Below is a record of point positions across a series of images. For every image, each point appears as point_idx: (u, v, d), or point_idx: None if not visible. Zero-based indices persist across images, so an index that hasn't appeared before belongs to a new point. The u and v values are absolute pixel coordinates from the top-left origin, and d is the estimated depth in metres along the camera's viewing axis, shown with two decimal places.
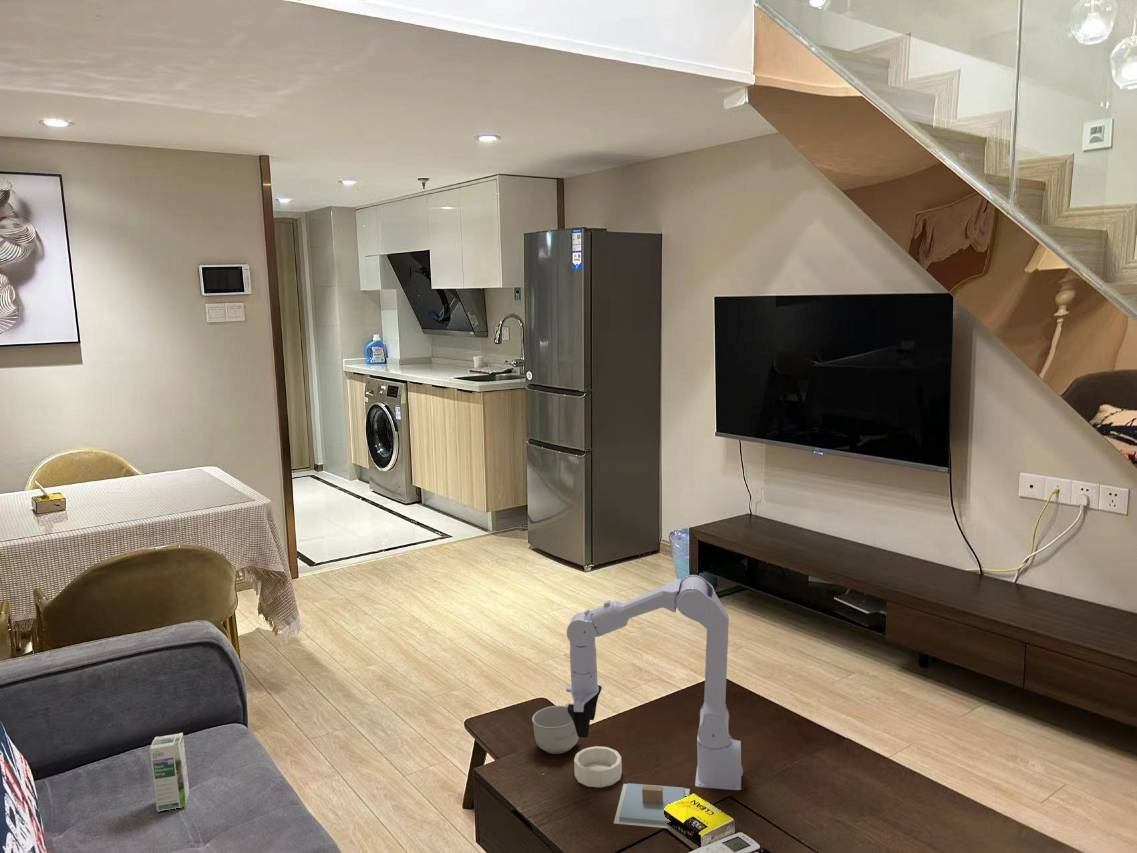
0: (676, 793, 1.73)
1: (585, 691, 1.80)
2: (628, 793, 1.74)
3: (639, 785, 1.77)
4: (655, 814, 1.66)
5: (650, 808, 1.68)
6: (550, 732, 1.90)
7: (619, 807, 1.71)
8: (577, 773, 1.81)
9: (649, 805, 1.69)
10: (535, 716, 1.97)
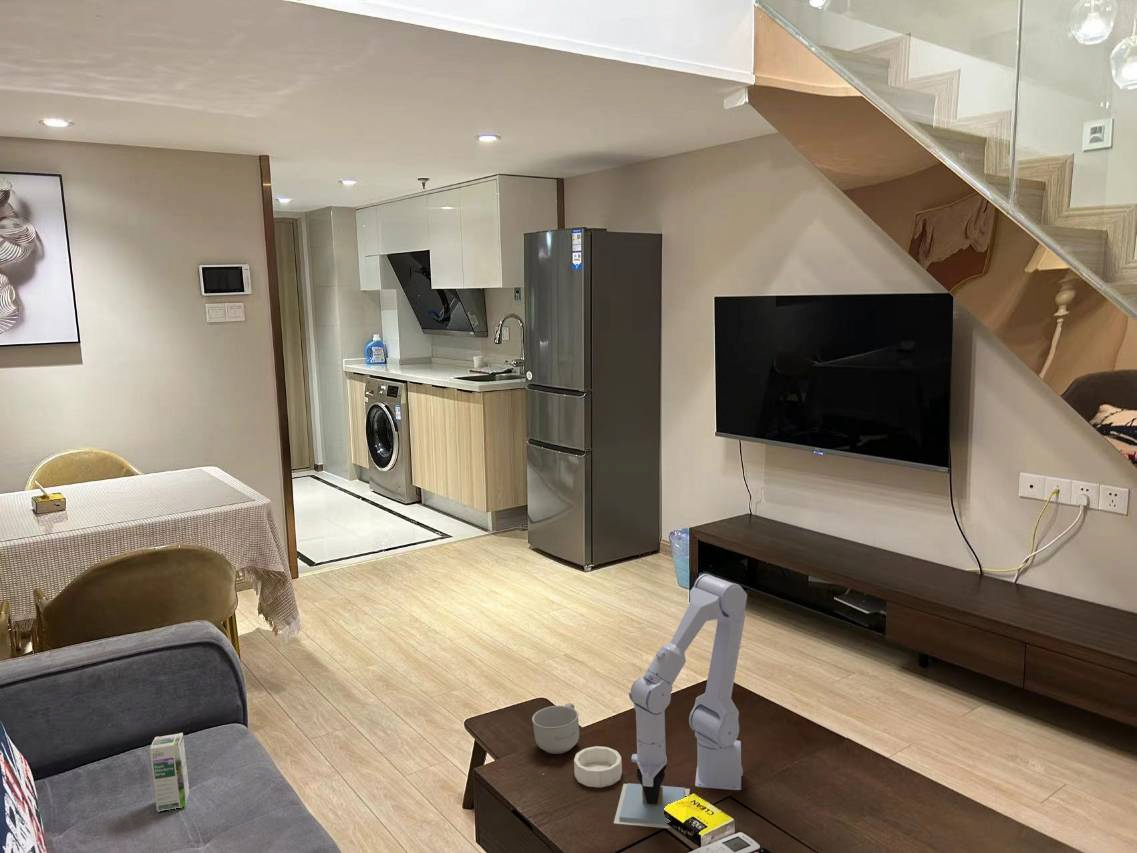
0: (676, 793, 1.73)
1: (653, 762, 1.66)
2: (628, 793, 1.74)
3: (639, 785, 1.77)
4: (655, 814, 1.66)
5: (650, 808, 1.68)
6: (550, 732, 1.90)
7: (619, 807, 1.71)
8: (577, 773, 1.81)
9: (649, 805, 1.69)
10: (535, 716, 1.97)
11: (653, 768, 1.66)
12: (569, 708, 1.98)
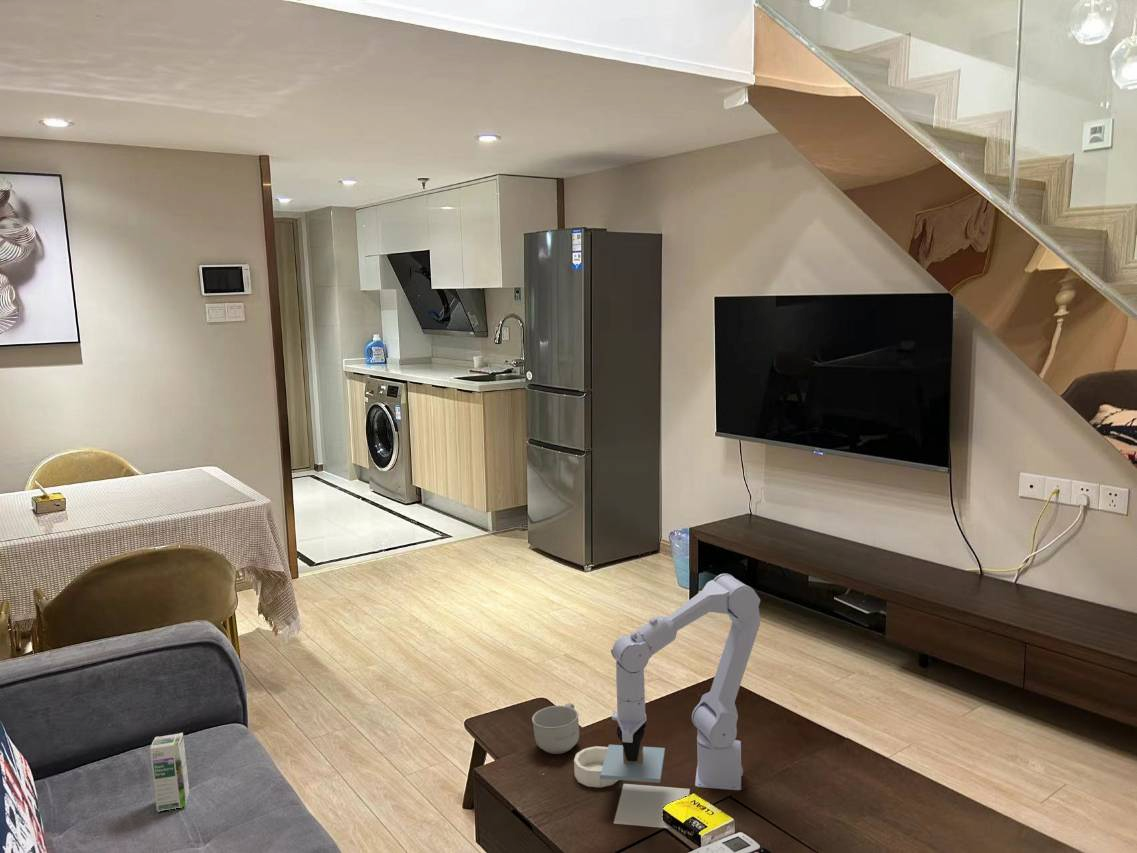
0: (656, 753, 1.76)
1: (633, 719, 1.69)
2: (609, 753, 1.77)
3: (620, 746, 1.80)
4: (635, 772, 1.69)
5: (630, 767, 1.71)
6: (550, 732, 1.90)
7: (619, 807, 1.71)
8: (577, 773, 1.81)
9: (630, 764, 1.72)
10: (535, 716, 1.97)
11: (633, 725, 1.69)
12: (569, 708, 1.98)
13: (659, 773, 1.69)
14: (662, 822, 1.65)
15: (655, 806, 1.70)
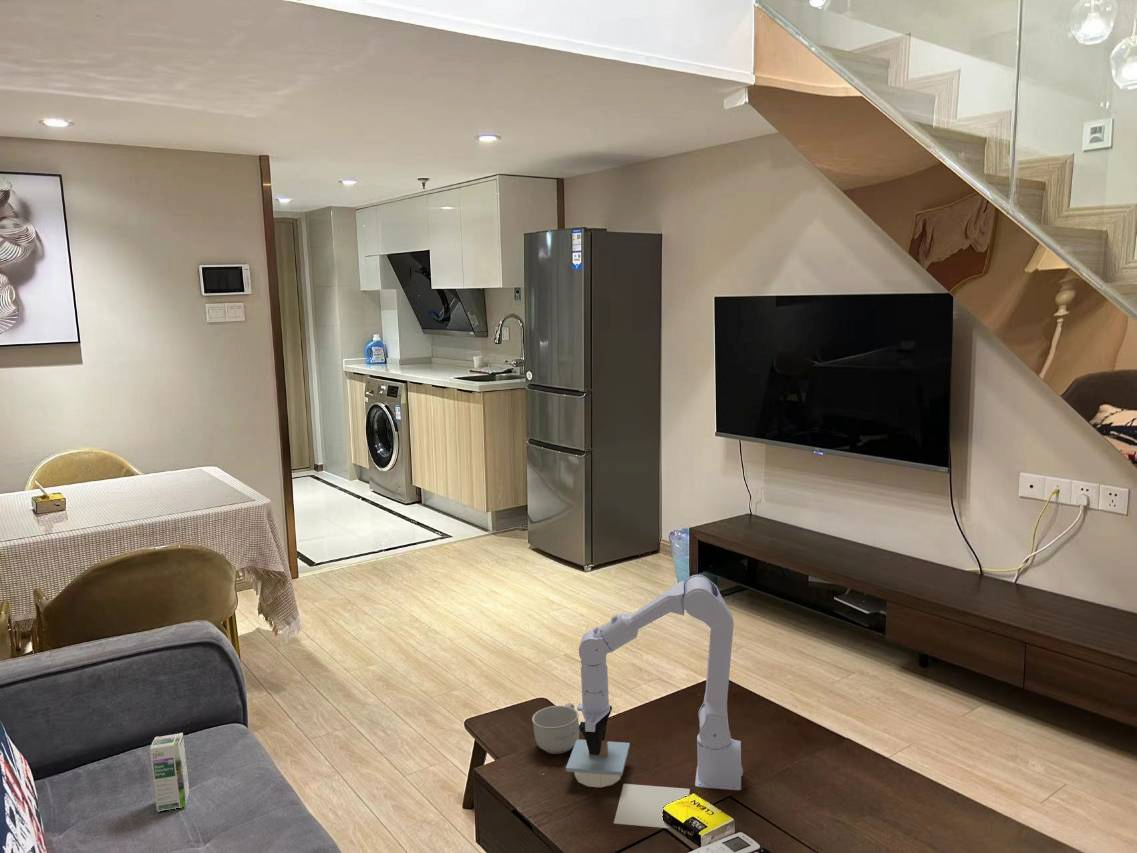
0: (621, 747, 1.85)
1: (596, 710, 1.78)
2: (576, 748, 1.86)
3: None
4: (599, 765, 1.78)
5: (595, 760, 1.80)
6: (550, 732, 1.90)
7: (619, 807, 1.71)
8: (577, 773, 1.81)
9: (595, 758, 1.81)
10: (535, 716, 1.97)
11: (596, 716, 1.78)
12: (569, 708, 1.98)
13: (621, 766, 1.77)
14: (662, 822, 1.65)
15: (655, 806, 1.70)
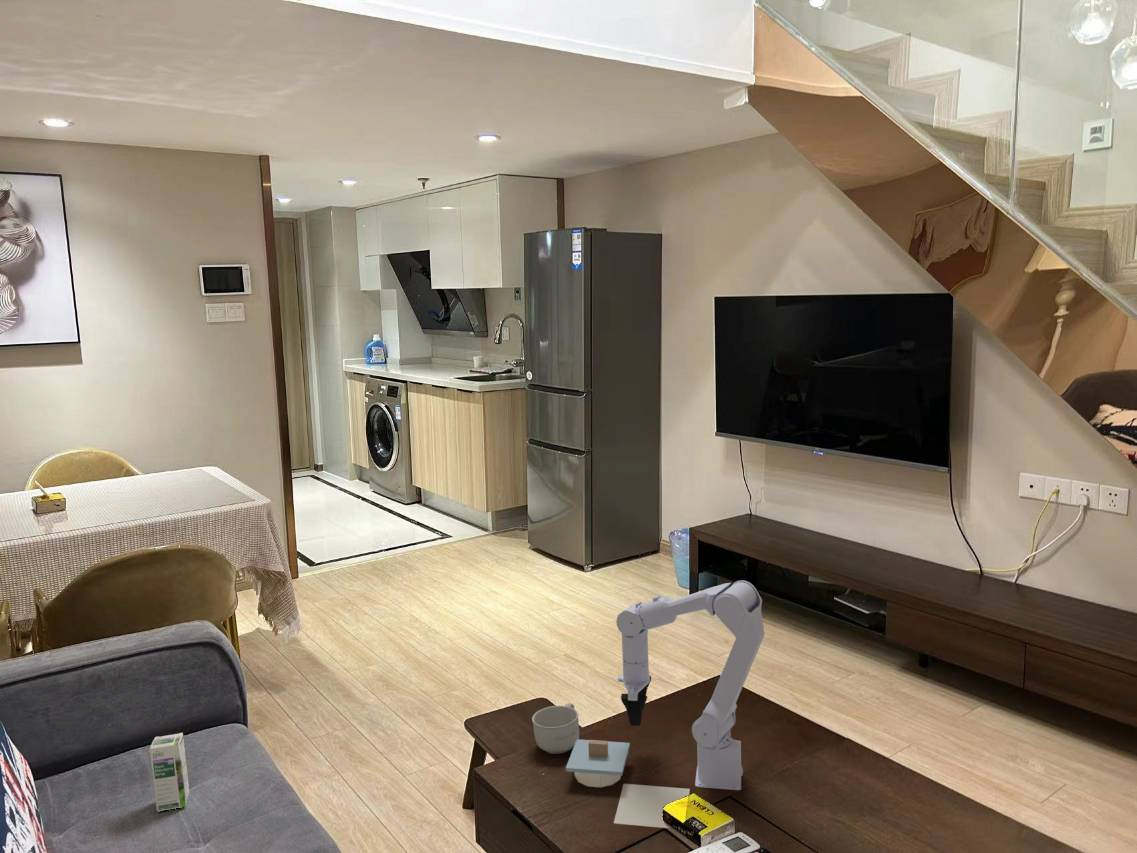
0: (621, 747, 1.85)
1: (637, 680, 1.84)
2: (576, 748, 1.86)
3: (588, 741, 1.88)
4: (599, 765, 1.78)
5: (595, 760, 1.80)
6: (550, 732, 1.90)
7: (619, 807, 1.71)
8: (577, 773, 1.81)
9: (595, 758, 1.81)
10: (535, 716, 1.97)
11: (637, 686, 1.84)
12: (569, 708, 1.98)
13: (621, 766, 1.77)
14: (662, 822, 1.65)
15: (655, 806, 1.70)
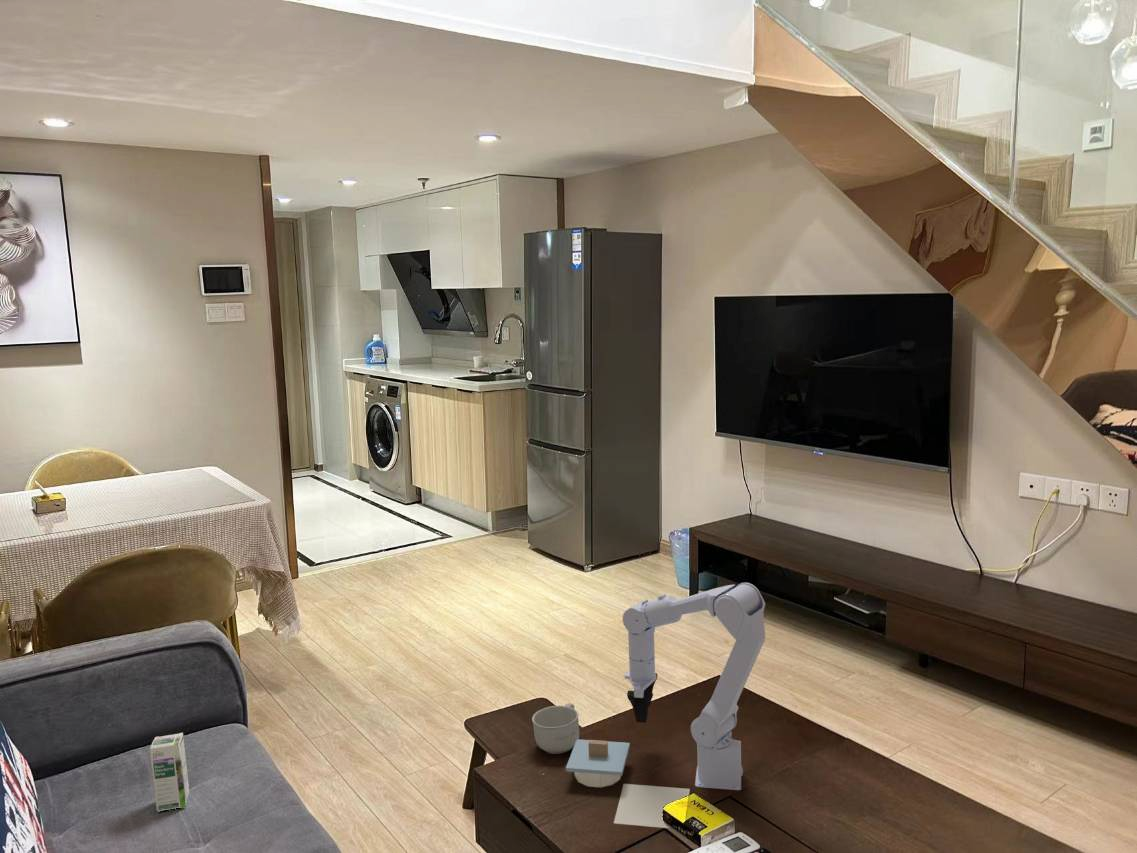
0: (621, 747, 1.85)
1: (643, 677, 1.85)
2: (576, 748, 1.86)
3: (588, 741, 1.88)
4: (599, 765, 1.78)
5: (595, 760, 1.80)
6: (550, 732, 1.90)
7: (619, 807, 1.71)
8: (577, 773, 1.81)
9: (595, 758, 1.81)
10: (535, 716, 1.97)
11: (644, 683, 1.85)
12: (569, 708, 1.98)
13: (621, 766, 1.77)
14: (662, 822, 1.65)
15: (655, 806, 1.70)
